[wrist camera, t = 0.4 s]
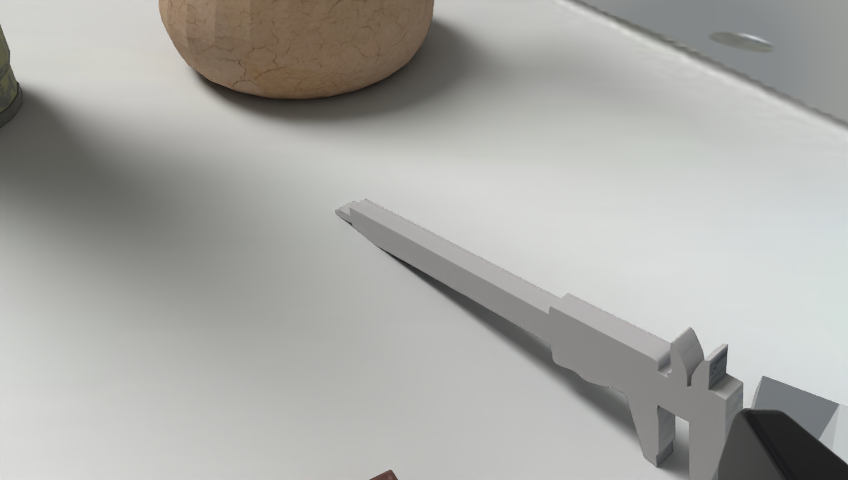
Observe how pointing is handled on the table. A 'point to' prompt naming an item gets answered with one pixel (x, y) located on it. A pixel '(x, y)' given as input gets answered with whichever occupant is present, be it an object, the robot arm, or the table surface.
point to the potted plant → (296, 42)
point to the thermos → (7, 85)
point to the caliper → (585, 341)
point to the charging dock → (807, 413)
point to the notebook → (385, 476)
